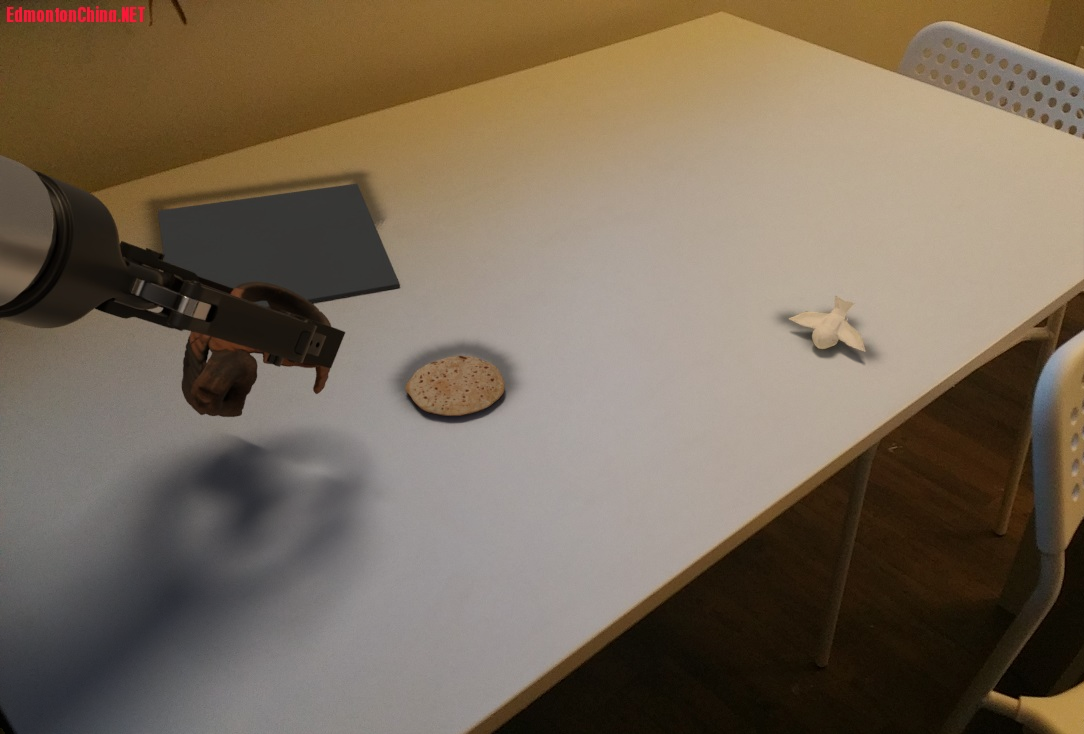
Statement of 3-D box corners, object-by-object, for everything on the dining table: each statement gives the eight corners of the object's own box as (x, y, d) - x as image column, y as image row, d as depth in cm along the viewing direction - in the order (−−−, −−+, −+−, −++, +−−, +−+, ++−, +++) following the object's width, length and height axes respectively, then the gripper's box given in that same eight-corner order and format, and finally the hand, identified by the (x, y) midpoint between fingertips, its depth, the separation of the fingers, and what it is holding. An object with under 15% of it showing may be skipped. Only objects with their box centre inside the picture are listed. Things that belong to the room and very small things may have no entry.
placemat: (158, 214, 101) (157, 210, 100) (357, 187, 108) (357, 183, 108) (173, 327, 87) (172, 323, 87) (400, 287, 94) (399, 283, 94)
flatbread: (492, 355, 87) (492, 346, 87) (513, 410, 82) (513, 401, 81) (399, 370, 85) (398, 361, 84) (414, 428, 80) (413, 419, 79)
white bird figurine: (776, 335, 92) (792, 288, 90) (794, 327, 96) (810, 282, 94) (854, 369, 89) (872, 321, 87) (869, 359, 93) (887, 314, 91)
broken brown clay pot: (199, 346, 73) (241, 256, 71) (317, 405, 76) (363, 320, 73) (124, 422, 63) (171, 320, 60) (264, 488, 65) (315, 393, 62)
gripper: (-182, 245, 50) (143, 328, 72) (137, 385, 45) (386, 429, 66) (-123, 111, 51) (182, 233, 72) (201, 231, 45) (427, 325, 67)
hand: (279, 327), depth 69 cm, fingers closed on broken brown clay pot, 9 cm apart
